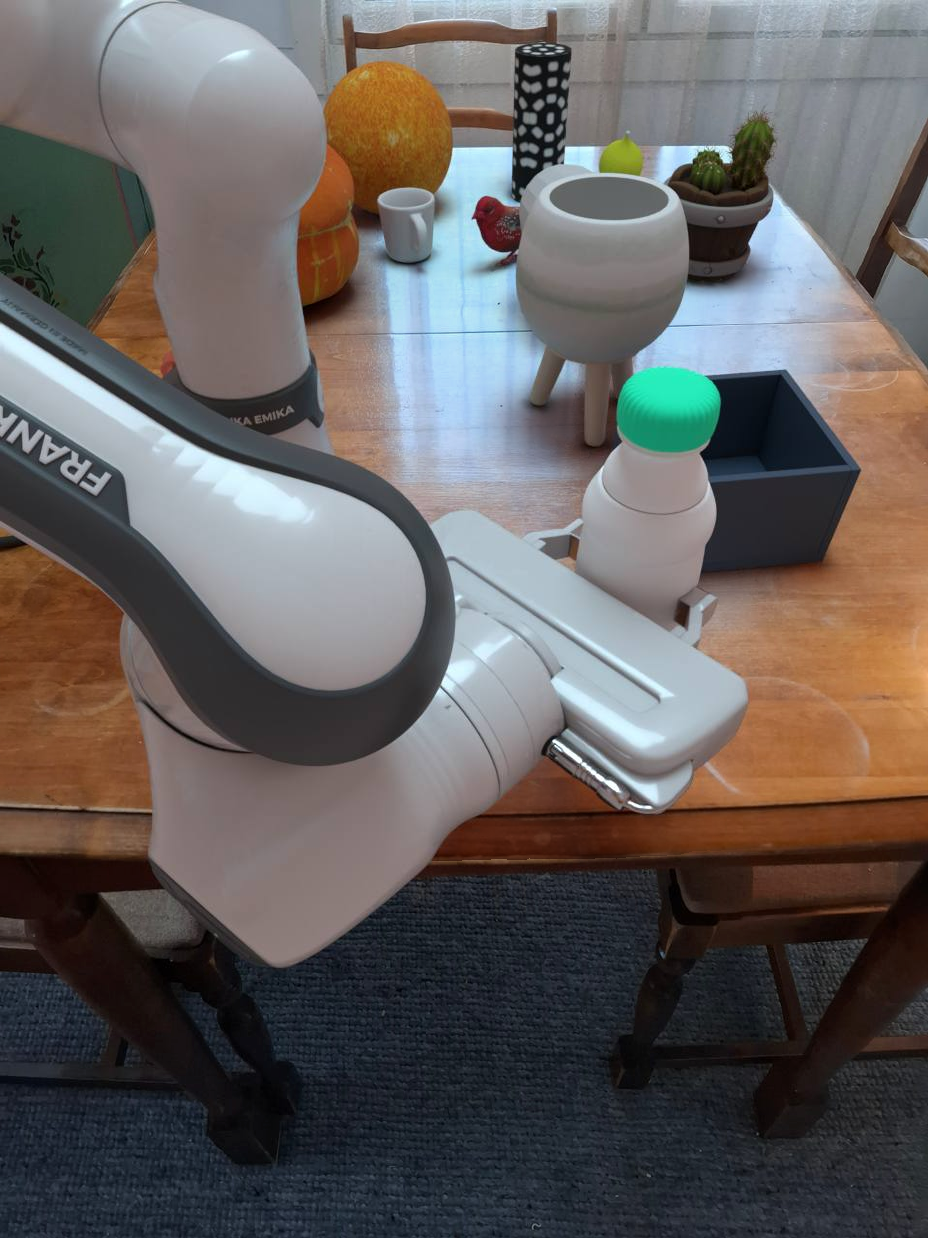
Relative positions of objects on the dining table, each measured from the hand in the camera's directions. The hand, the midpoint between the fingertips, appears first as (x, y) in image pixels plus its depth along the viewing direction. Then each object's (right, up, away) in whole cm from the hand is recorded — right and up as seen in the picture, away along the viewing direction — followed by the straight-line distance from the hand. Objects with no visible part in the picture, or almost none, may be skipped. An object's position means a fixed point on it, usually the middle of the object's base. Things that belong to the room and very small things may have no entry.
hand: (644, 563), depth 46 cm
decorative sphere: (-22, +62, +82) cm, 105 cm away
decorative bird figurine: (-3, +49, +69) cm, 84 cm away
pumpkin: (-35, +41, +62) cm, 82 cm away
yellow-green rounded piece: (+15, +69, +87) cm, 112 cm away
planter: (+3, +19, +41) cm, 45 cm away
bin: (+13, +7, +29) cm, 33 cm away
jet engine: (+3, +34, +55) cm, 64 cm away
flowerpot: (+23, +46, +66) cm, 83 cm away
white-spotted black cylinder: (+2, +67, +85) cm, 109 cm away
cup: (-18, +49, +69) cm, 87 cm away
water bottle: (0, -9, +9) cm, 13 cm away
